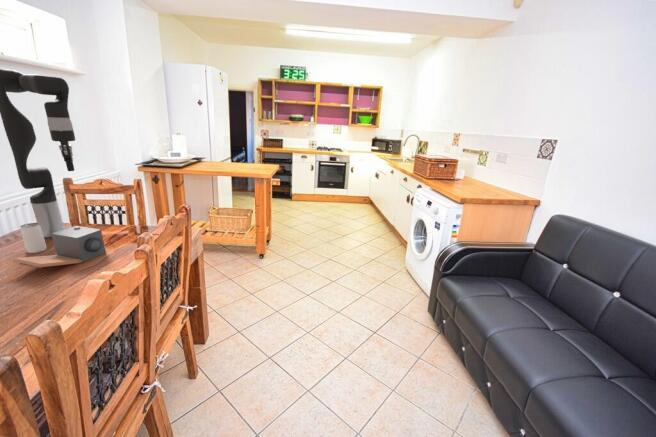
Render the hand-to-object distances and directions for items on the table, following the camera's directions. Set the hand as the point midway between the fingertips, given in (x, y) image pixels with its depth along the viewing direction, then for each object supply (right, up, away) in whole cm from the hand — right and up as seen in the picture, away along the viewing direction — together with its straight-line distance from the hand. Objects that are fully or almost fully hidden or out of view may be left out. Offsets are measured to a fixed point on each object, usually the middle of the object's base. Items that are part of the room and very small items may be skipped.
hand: (71, 170), depth 128 cm
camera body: (+5, -37, 0) cm, 37 cm away
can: (-18, -35, +4) cm, 40 cm away
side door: (+3, -38, -4) cm, 38 cm away
